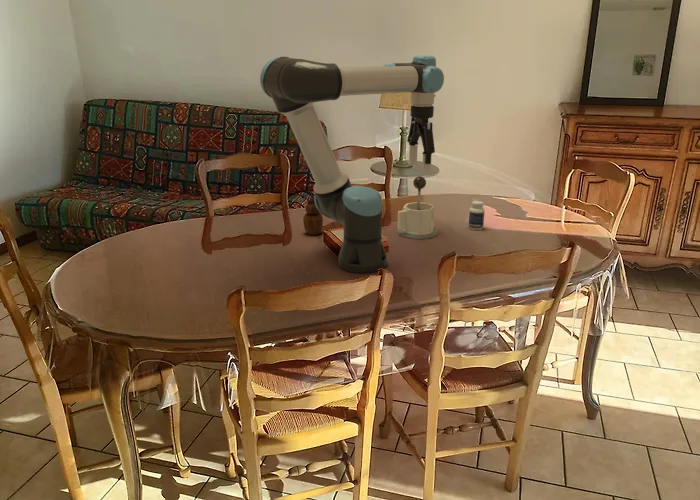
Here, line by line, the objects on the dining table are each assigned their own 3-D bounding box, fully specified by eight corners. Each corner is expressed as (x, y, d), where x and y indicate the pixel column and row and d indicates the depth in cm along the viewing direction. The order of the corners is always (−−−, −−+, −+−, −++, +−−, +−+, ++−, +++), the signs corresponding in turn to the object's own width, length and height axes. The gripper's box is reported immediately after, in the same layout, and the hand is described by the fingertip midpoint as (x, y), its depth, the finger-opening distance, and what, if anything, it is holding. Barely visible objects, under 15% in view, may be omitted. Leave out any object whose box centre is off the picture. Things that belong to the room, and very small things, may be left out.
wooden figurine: (324, 231, 212) (323, 190, 207) (321, 236, 207) (320, 195, 202) (305, 230, 213) (303, 190, 208) (302, 236, 208) (301, 194, 202)
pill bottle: (484, 230, 212) (486, 204, 208) (469, 230, 212) (471, 204, 208) (481, 225, 217) (483, 200, 213) (466, 225, 217) (468, 200, 213)
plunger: (414, 231, 205) (415, 180, 198) (404, 225, 211) (405, 175, 205) (432, 228, 208) (434, 177, 201) (421, 222, 214) (423, 173, 207)
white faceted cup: (407, 241, 201) (408, 215, 198) (389, 229, 213) (389, 204, 210) (445, 235, 207) (446, 209, 203) (424, 223, 219) (425, 199, 215)
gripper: (447, 109, 184) (443, 176, 191) (420, 100, 206) (417, 160, 214) (424, 110, 182) (421, 177, 189) (399, 100, 204) (397, 161, 212)
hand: (419, 168), depth 202 cm, fingers open, 13 cm apart
